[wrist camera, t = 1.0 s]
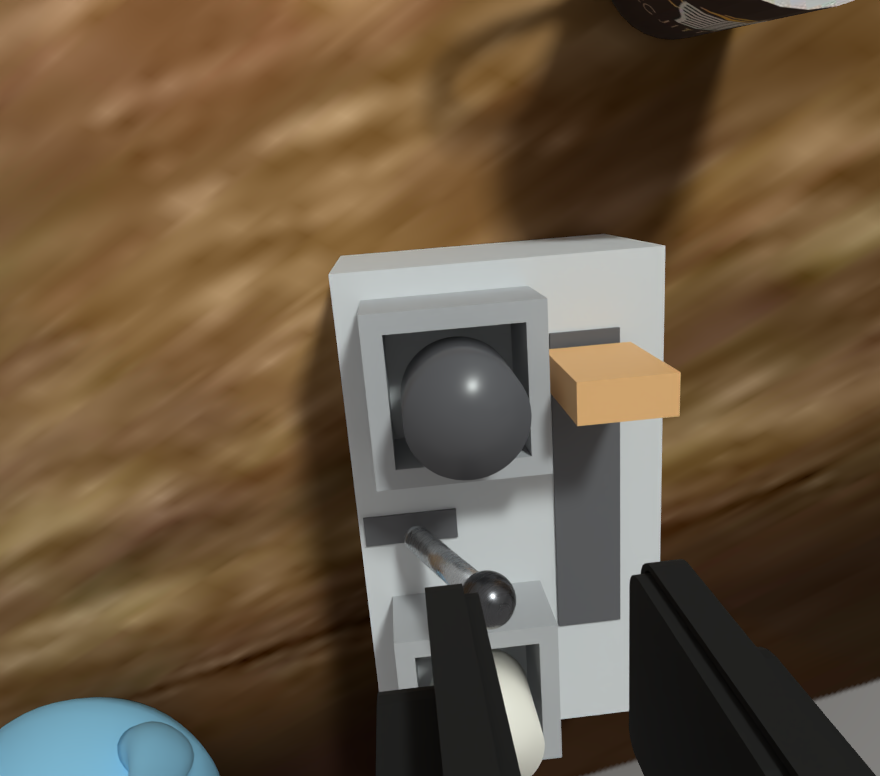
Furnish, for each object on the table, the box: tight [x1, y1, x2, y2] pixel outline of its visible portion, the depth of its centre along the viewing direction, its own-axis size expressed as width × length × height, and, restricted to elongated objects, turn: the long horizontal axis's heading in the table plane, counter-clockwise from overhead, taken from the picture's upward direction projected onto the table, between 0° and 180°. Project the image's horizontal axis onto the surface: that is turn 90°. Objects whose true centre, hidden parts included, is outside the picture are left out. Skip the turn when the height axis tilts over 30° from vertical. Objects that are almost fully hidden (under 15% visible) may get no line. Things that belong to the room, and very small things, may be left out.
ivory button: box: [430, 649, 545, 776], centre depth 25 cm, size 4×4×3 cm
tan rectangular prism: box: [549, 342, 681, 426], centre depth 23 cm, size 3×1×4 cm, turn 95°
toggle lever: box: [404, 526, 516, 630], centre depth 24 cm, size 2×2×6 cm
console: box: [329, 234, 665, 760], centre depth 29 cm, size 12×20×10 cm, turn 4°
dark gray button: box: [401, 336, 532, 481], centre depth 22 cm, size 4×4×3 cm
